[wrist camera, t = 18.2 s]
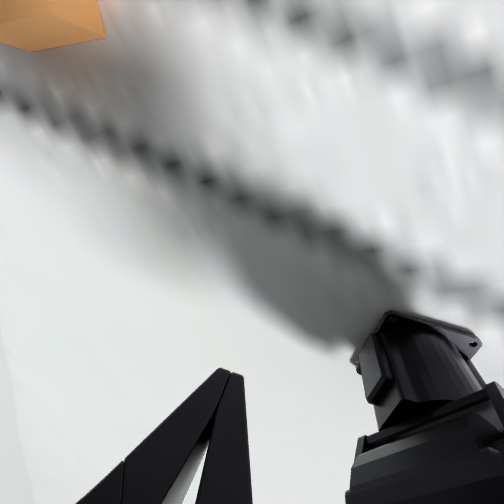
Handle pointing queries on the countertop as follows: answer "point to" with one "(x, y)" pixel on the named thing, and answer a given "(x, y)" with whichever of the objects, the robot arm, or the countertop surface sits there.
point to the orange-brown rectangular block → (49, 23)
